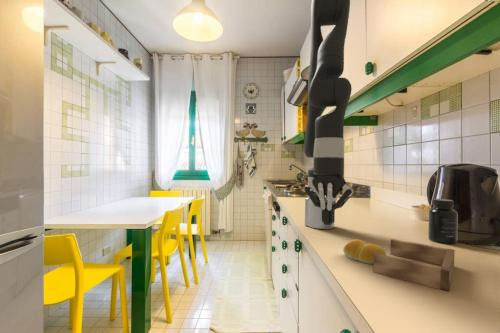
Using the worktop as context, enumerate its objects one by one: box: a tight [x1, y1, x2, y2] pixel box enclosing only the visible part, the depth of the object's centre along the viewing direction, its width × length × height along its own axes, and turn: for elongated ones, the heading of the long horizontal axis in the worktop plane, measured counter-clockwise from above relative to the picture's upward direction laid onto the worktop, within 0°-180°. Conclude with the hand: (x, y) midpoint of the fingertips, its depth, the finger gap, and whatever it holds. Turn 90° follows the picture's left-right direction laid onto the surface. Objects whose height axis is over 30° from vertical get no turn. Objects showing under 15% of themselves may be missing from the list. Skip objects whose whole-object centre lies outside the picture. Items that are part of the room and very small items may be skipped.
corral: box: [372, 238, 455, 292], centre depth 55 cm, size 12×15×4 cm
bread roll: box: [342, 238, 387, 265], centre depth 61 cm, size 8×9×4 cm
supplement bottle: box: [427, 198, 459, 245], centre depth 76 cm, size 7×7×12 cm
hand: (327, 224), depth 67 cm, fingers closed
